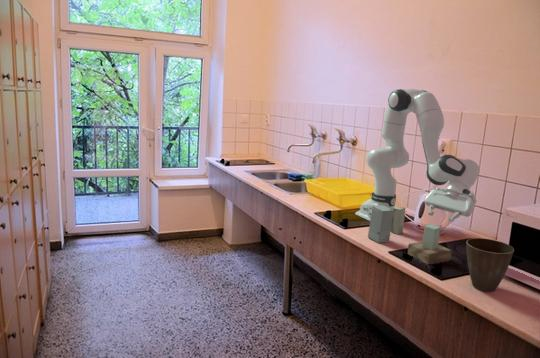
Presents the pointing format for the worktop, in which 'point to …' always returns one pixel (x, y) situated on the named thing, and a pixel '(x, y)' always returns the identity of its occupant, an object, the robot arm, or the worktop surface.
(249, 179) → the worktop surface
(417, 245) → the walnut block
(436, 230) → the sage column
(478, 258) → the plant pot
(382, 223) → the skincare box
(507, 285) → the worktop surface
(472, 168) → the robot arm
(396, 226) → the box
